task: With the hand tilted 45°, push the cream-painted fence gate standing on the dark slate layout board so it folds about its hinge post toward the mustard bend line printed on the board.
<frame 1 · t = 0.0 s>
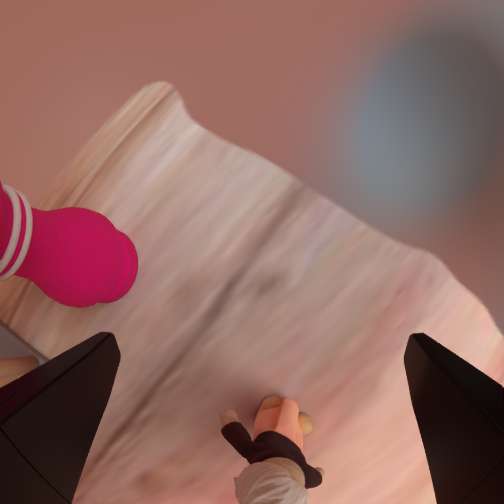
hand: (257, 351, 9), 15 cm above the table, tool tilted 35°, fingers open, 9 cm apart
grandmother figurine: (278, 415, 23), on the table
pepper mill: (107, 266, 26), on the table
layout board: (25, 442, 23), on the table
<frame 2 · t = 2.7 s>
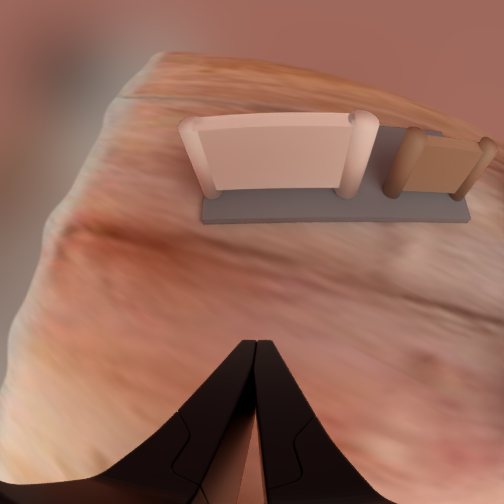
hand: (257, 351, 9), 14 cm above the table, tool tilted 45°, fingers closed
fence gate: (280, 158, 22), point 5 cm above the table, hinge at 0.0°
layout board: (343, 195, 26), on the table
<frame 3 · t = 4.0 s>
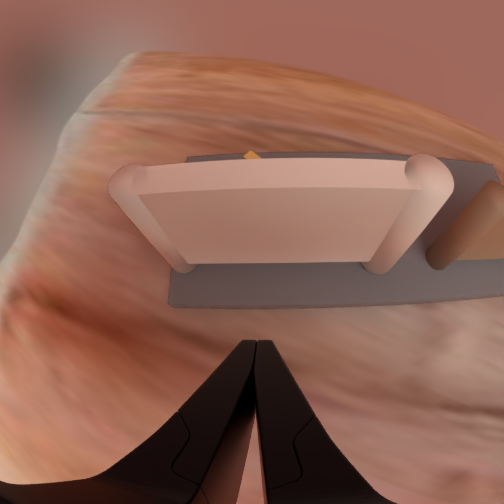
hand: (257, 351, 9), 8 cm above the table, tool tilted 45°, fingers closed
fence gate: (283, 226, 14), point 5 cm above the table, hinge at 0.0°
layout board: (372, 263, 18), on the table
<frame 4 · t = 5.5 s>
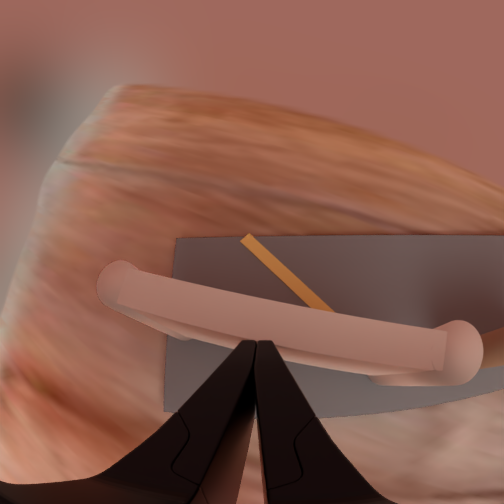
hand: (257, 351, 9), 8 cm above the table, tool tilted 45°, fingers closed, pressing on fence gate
fence gate: (287, 341, 12), point 5 cm above the table, hinge at 12.4°, touching gripper
layout board: (378, 367, 16), on the table
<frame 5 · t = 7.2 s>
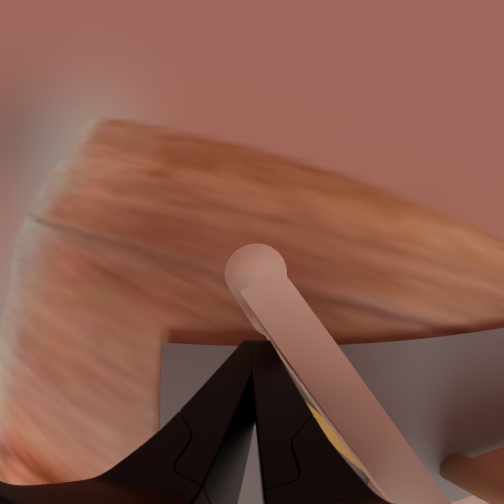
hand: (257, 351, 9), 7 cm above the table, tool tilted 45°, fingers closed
fence gate: (348, 421, 10), point 5 cm above the table, hinge at 55.3°, touching gripper
layout board: (381, 476, 13), on the table
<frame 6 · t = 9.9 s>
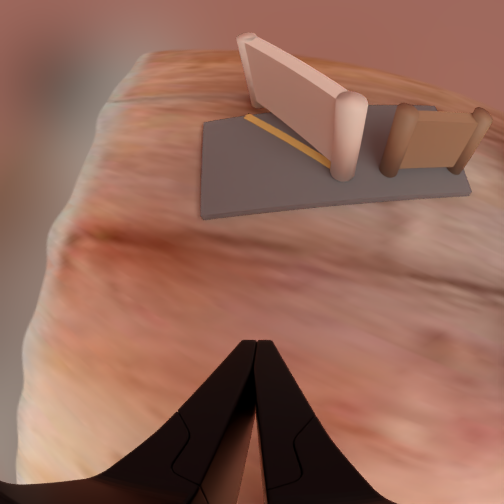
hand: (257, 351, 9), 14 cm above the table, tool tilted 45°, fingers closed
fence gate: (296, 101, 23), point 5 cm above the table, hinge at 55.5°
layout board: (341, 177, 26), on the table
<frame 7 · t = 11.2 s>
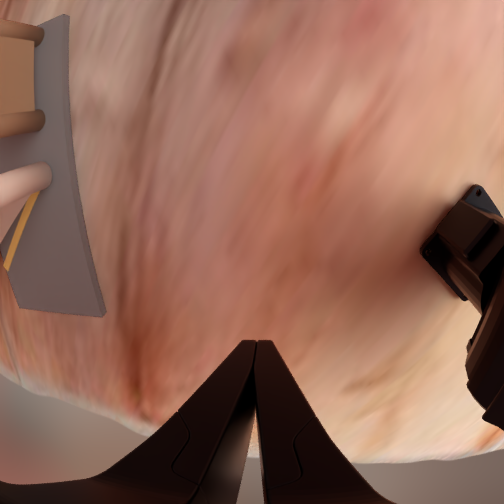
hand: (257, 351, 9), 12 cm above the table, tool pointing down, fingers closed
layout board: (50, 172, 20), on the table
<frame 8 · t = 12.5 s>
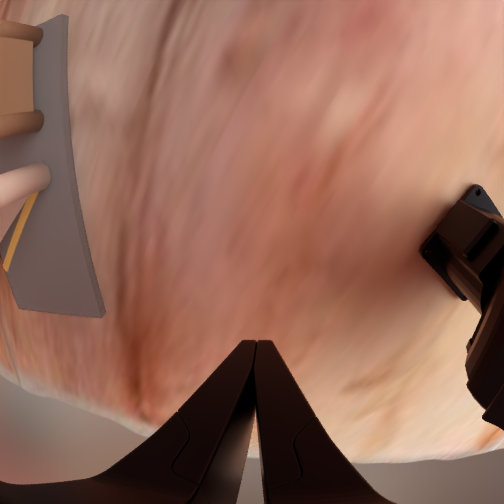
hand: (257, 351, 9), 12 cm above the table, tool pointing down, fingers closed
layout board: (49, 172, 20), on the table
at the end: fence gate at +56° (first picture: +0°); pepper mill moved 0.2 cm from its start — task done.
